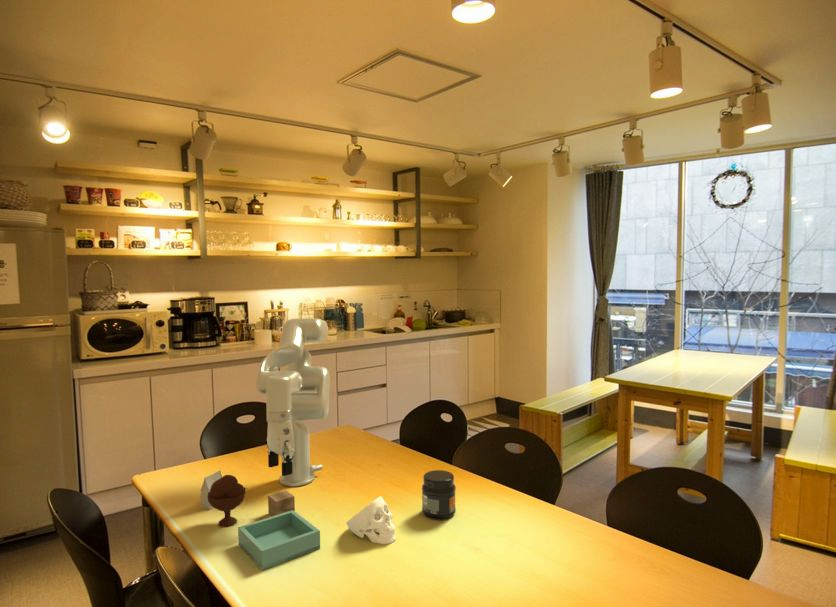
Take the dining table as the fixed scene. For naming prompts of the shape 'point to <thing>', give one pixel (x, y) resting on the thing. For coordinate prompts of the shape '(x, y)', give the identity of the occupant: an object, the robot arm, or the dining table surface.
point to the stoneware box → (278, 539)
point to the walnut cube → (280, 503)
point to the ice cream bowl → (226, 497)
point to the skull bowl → (374, 522)
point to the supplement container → (438, 495)
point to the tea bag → (208, 489)
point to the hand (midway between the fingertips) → (280, 470)
